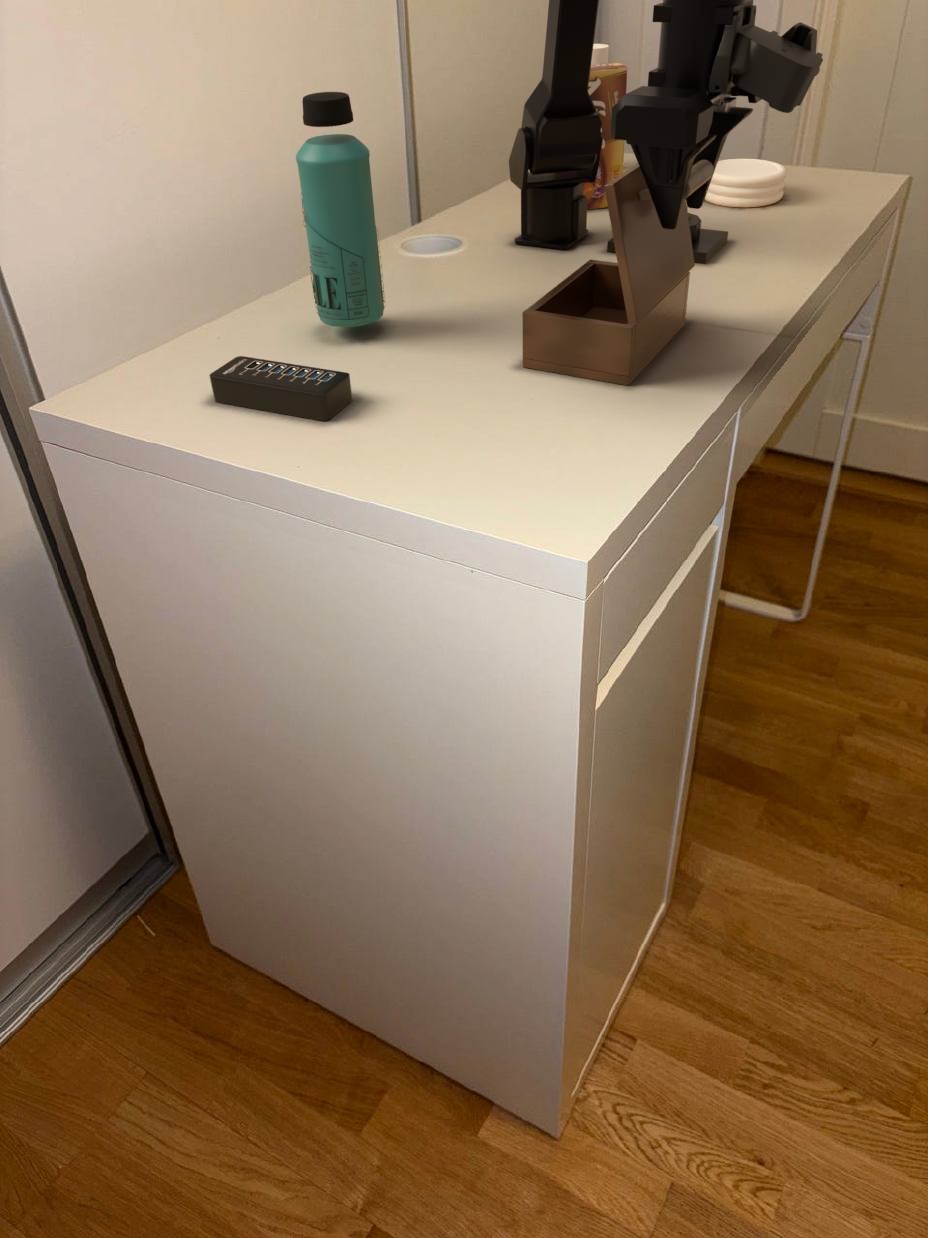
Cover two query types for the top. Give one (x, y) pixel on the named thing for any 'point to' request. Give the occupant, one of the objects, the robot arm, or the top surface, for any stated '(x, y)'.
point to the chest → (598, 327)
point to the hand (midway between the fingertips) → (682, 217)
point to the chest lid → (649, 239)
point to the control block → (697, 241)
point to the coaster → (746, 183)
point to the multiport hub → (282, 388)
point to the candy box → (606, 128)
